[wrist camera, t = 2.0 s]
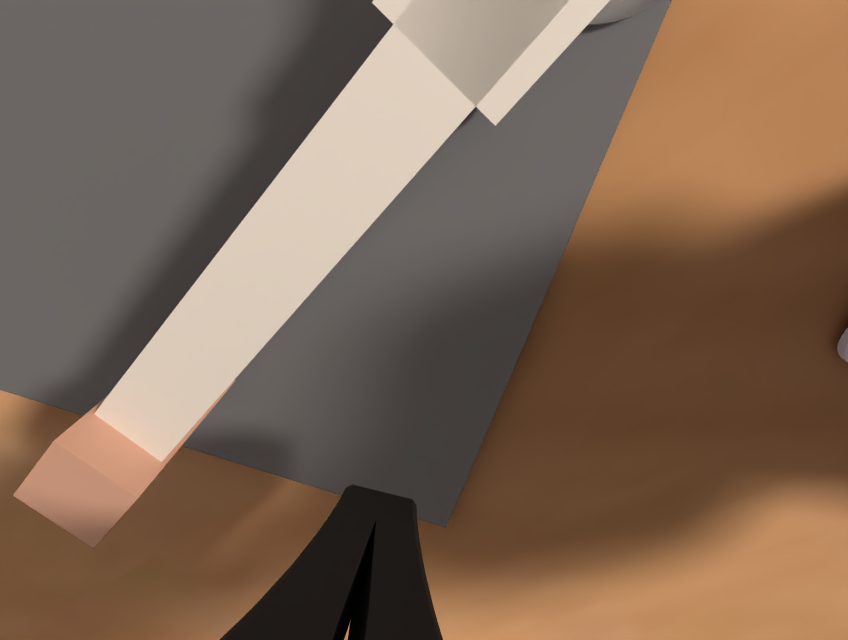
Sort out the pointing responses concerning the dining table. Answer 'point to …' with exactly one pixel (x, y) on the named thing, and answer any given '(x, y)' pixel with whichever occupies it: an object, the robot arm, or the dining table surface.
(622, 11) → the post
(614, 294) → the dining table surface
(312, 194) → the gate
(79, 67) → the mat
